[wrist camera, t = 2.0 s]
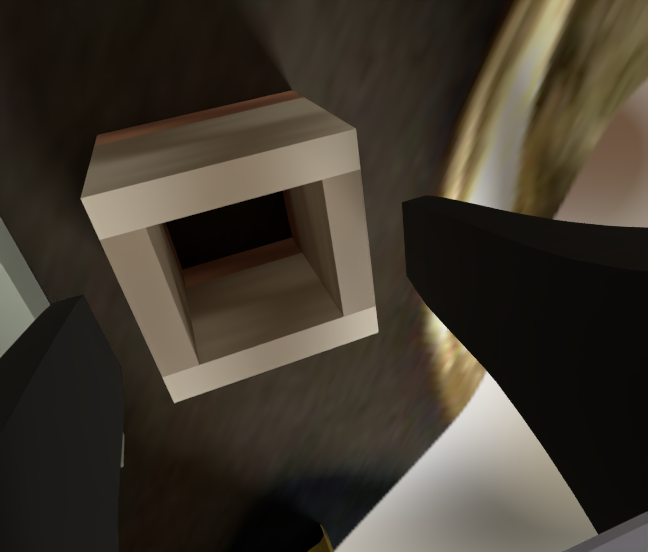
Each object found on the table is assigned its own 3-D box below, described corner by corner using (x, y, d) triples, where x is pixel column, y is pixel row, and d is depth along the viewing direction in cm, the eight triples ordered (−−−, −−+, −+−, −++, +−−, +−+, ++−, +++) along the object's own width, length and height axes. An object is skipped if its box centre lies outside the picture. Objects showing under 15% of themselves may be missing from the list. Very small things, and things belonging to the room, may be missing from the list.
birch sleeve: (164, 299, 16) (174, 403, 12) (97, 134, 13) (80, 198, 9) (320, 252, 17) (378, 332, 13) (292, 90, 14) (355, 128, 10)
